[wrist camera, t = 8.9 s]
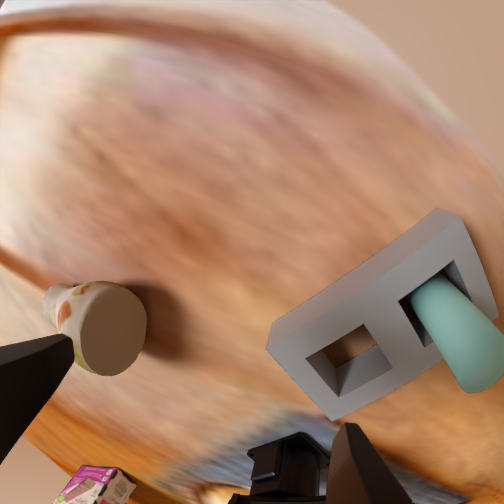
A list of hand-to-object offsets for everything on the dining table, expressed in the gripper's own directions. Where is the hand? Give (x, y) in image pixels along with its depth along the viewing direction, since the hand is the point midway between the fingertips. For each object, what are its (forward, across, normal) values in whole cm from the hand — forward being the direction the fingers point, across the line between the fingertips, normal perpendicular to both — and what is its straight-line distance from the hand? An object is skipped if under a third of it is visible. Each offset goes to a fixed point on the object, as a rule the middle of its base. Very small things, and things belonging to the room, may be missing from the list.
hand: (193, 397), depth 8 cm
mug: (+13, +12, +8) cm, 20 cm away
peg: (+13, -11, -1) cm, 17 cm away
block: (+13, -9, +1) cm, 16 cm away
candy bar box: (+13, +16, +41) cm, 46 cm away
